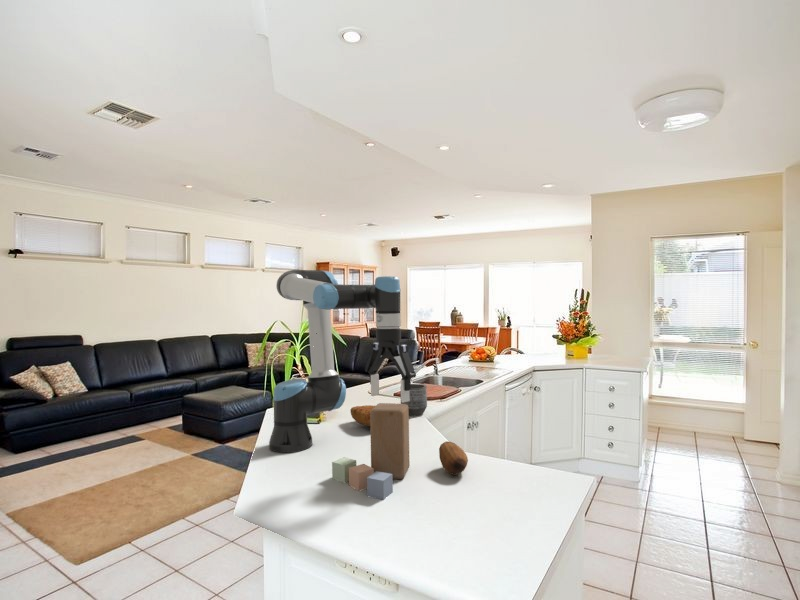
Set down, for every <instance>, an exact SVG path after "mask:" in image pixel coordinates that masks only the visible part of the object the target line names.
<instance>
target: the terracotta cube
mask: <svg viewBox="0 0 800 600" xmlns="http://www.w3.org/2000/svg"><path fill="white" fill-rule="evenodd" d="M373 473H374V468H372V467H371V465H370V466H369V465H368V464H365V463H362V464H356V466H354V467H350V468H349V481H348V485H350V487H351V486H352V487H351V488H353V489H354V488H355V490H357V492H359V491H360V490H361V491H363V489H364V490H367V489H366V488H367V477H369V476H370V475H372V474H373Z"/></svg>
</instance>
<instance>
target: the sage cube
mask: <svg viewBox="0 0 800 600" xmlns="http://www.w3.org/2000/svg"><path fill="white" fill-rule="evenodd" d="M354 466H357V460H356V459H353V458H349V457H345V456H344V457H343V456H342V457H341V458H339V459H336V460H334V461H331V468H332V469H331V471H332V472H331V474H332V475H331V476H332V478H331V479H332V480H334V479H335V480H334V481H337V480H338V481H337V482H341V483H344V482H345V483H347V482H349V468H350V467H354Z"/></svg>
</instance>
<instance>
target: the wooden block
mask: <svg viewBox="0 0 800 600" xmlns="http://www.w3.org/2000/svg"><path fill="white" fill-rule="evenodd" d="M374 406H375V407H374V408H373V409H372V410H371V412H370V426H369V427H370V430H369V431H370V467H372V468H374V472H376V471H378V472H384V473H390V474H392V478H393V479H395V480H402V479H404V478H405V477H406V475H407V472H408V470H409V468H410V467H411V466H410V422H409V421H410V420H409V419H410V418H409V417H410V416H409V407H408V405H407V404H401V403H396V402H395V403H391V402H388V403H387V402H378V403H377V404H376V405H374Z"/></svg>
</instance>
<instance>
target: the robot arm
mask: <svg viewBox="0 0 800 600" xmlns="http://www.w3.org/2000/svg"><path fill="white" fill-rule="evenodd" d="M374 280H375V281H374V284H341V283H340V284H338V280H337V278H336V276H335V275H334V273H332V272H331V271H329V270H321V269H319V270H318V269H292V270H291V269H290V270H288V271H285V272H284V273H282V274H281V275H280V276H279V277H278V278H277V281H276V291H277V293H278V294H279V296H281V297H282V298H283V299H285V300H290V301H302V305H303V307H304V308H305V309H306V310H307V319H308V322H307V323H308V335H309V336H308V337H309V351H310V352H309V353H310V366H311V368H310V369H311V373H310V374H309V375H308V376H307V379H308V380H306V379H304V378H297V379H288V380H285V381H282V382H279V383H277V384H276V385H275V386H274V389H273V396H272V399H273V428H272V431H271V435H270V439H269V442H268V443H269V444H268V445H269V446H268V449H269V450H270V451H271V452H276V453H281V454H282V453H283V454H284V453H285V454H286V453H296V452H302V451H304V450H306V449H310V447H312V446H313V437H312V434H311V430H310V428H309V425H308V415H312V414H318V413H323V412H332V411H335V410H338V409H340V408H341V407H342V406H343V404H344V402H345V400H346V397H347V386H346V384H345V381H344V380H343V378H340V375H339V373H338V372H337V371H336V370H335V361H334V346H333V334H332V332H333V331H332V321H331V320H332V319H331V310H345V309H346V310H350V309H353V310H354V309H355V310H356V309H362V310H365V309H366V310H368V309H369V310H370V309H375V327H377V328H376V330H375V340H376V341H377V342H372V343H371V344H370V351H369V355H368V358H367V362H366V363H365V368H364V371H365V372H366V373H368V374H369V385H370V396H371V397H374V396H375V397H376V396H380V374H379V370H380V368H381V367H382V364H384V363H383V362H384V361H385V360H386V359H387V360H391V361H392V362H393V364H394V365H395V367H396V368H397V370H398V372H399V374H400V375H401V379H400V403H401V402H402V403H403V402H408V401H410V392H409V390H410V389H411V384H412V383H411V382H412V381H411V380H412V379H413V378H417V377H416V376H417V373H416V371H415V368H414V365H413V362H412V360H411V357H410V354H409V349H408V345H407V344H400V341H401V340H402V329H401V328H400V327H401V326H402V319H401V317H402V316H401V315H402V314H401V290H402V289H401V282H400V278H399V277H398V276H392V275H391V276H386V275H385V276H384V275H383V276H377V277H376V278H375V279H374ZM316 333H317V334H316ZM313 346H314V347H313Z"/></svg>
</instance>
